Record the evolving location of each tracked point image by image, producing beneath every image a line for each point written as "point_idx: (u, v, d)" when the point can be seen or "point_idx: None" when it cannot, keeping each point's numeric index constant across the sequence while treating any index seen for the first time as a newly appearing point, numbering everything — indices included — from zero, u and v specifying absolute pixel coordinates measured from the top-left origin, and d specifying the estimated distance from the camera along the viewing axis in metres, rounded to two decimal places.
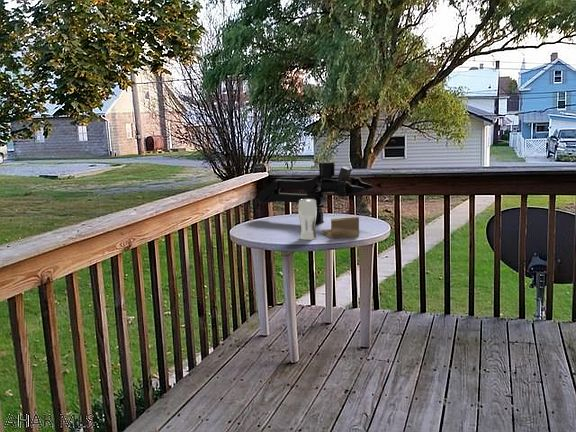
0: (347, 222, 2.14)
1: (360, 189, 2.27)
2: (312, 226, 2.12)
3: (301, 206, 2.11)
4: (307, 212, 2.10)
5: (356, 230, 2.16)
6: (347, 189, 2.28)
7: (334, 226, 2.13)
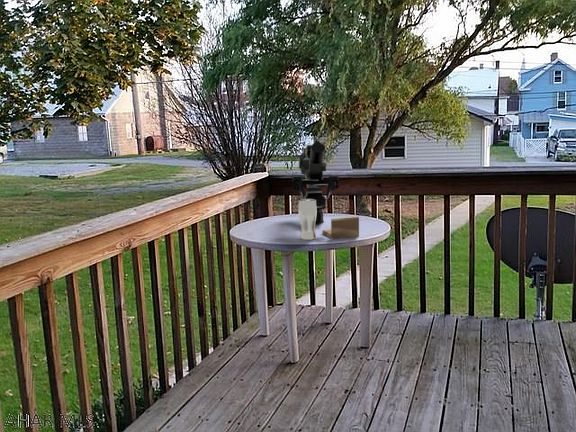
0: (347, 222, 2.14)
1: (302, 196, 2.24)
2: (312, 226, 2.12)
3: (301, 206, 2.11)
4: (307, 212, 2.10)
5: (356, 230, 2.16)
6: (298, 186, 2.27)
7: (334, 226, 2.13)
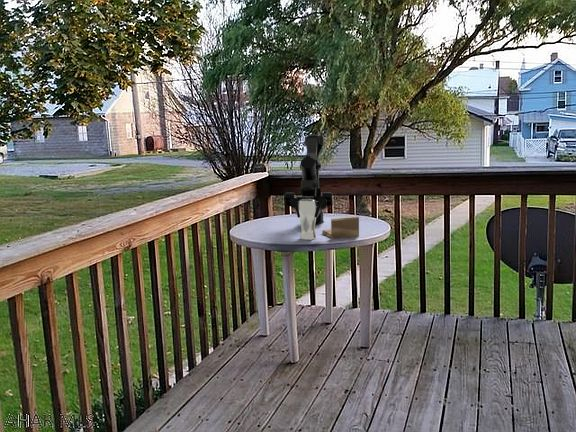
0: (347, 222, 2.14)
1: (296, 213, 2.14)
2: (312, 226, 2.12)
3: (301, 206, 2.11)
4: (307, 212, 2.10)
5: (356, 230, 2.16)
6: (293, 203, 2.17)
7: (334, 226, 2.13)
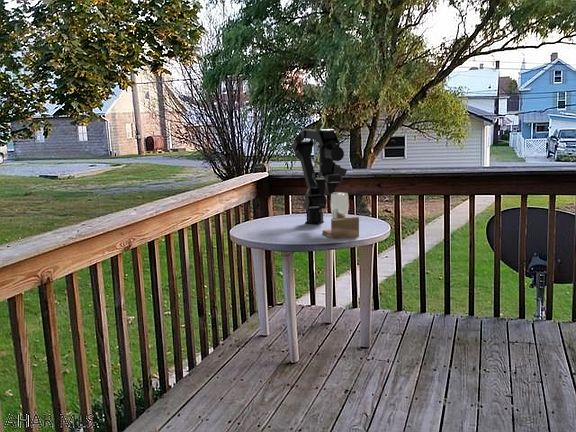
0: (347, 222, 2.14)
1: None
2: None
3: (337, 199, 2.15)
4: (343, 205, 2.15)
5: (356, 230, 2.16)
6: (333, 183, 2.25)
7: (334, 226, 2.13)
